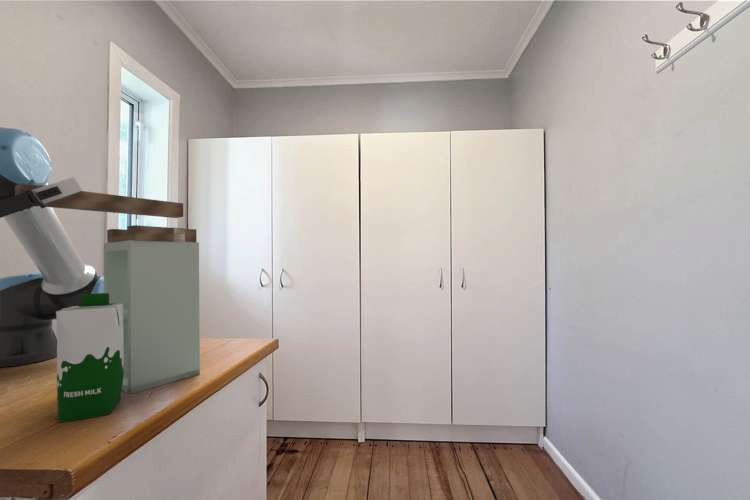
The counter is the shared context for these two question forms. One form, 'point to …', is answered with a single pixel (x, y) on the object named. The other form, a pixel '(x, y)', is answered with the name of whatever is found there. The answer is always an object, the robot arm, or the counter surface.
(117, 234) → the banded slat
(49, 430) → the counter surface
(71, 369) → the milk carton
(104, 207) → the plain slat
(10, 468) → the counter surface
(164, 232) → the banded slat
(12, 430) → the counter surface
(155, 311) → the shelf unit
